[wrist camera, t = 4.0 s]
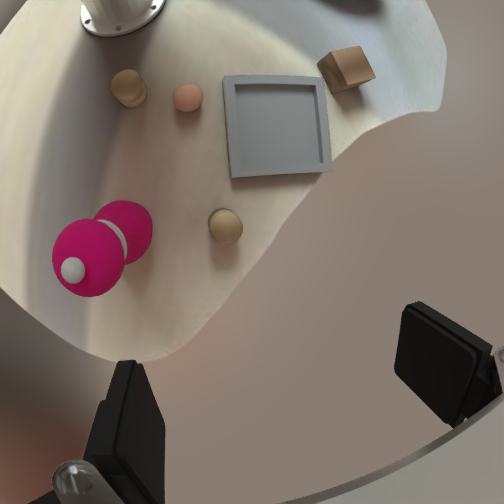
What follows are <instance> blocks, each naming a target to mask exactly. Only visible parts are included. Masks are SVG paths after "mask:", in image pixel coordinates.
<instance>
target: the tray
mask: <svg viewBox="0 0 504 504" xmlns="http://www.w3.org/2000/svg"><path fill="white" fill-rule="evenodd" d="M222 82H223V95H224V108H225V121H226V133H227V145H228V157H229V169H230V178H237V177H248V176H261V175H275V174H291V173H311V172H332V158H331V146H330V134H329V124H328V114H327V105H326V97H325V89H324V81H323V78H320V77H306V76H286V75H234V76H224V78H223V81H222Z"/></svg>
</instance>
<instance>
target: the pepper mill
mask: <svg viewBox="0 0 504 504" xmlns="http://www.w3.org/2000/svg"><path fill="white" fill-rule="evenodd" d="M151 238H152V220H151V218H150V215H149V213H148V212H147V211H146V210H145V209H144V208H143V207H142V206H140V205H139V204H136V203H132V202H129V201H123V200H121V201H114V202H111V203H109V204H107V205H106V206H104V207H103V208H102V209H101V210H100V211H99V212H98V213H97V214H96V216H95V217H94V219H82V220H78V221H75V222H73V223H71V224H70V225H68V226H67V227H66V228H65V229H64V230H63V231H62V232H61V233H60V235H59V236H58V238H57V240H56V242H55V245H54V248H53V255H52V262H53V267H54V271H55V273H56V275H57V278H58V279H59V281H60V282H61V284H62V285H63V286H64V287H66V288H67V289H68V290H69V291H71V292H73V293H75V294H77V295H80V296H83V297H94V296H99V295H101V294H104V293H105V292H107V291H108V290H110V289H111V288H112V287H113V286H114V285H115V284H116V283H117V281H118V280H119V278H120V276H121V274H122V271H123V269H124V265H125V264H130V263H132V262H134V261H136V260H137V259H139V258H140V257H141V256H142V255H143V254H144V253H145V252H146V250H147V249H148V247H149V245H150V242H151Z"/></svg>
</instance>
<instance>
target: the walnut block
mask: <svg viewBox="0 0 504 504" xmlns="http://www.w3.org/2000/svg"><path fill="white" fill-rule="evenodd" d="M317 66H318V68H319V70H320V71H321V73H322V75H323V77H324V79H325V81H326V83H327V85H328V88H329V90H330V92H331V94H333V93H336V92H339V91H343V90H346V89H350V88H353V87H357V86H359V85H361V84H364V83H366V82H368V81H370V80H372V79H374V78H376V76H375V74H374V72H373V70H372V68H371V66H370V64H369V62H368V60H367V58H366V56H365V54H364V52H363V50H362V48H361V47H360V46H356V47H351V48H346V49H341V50H336V51H331V52H330V53H329V54H327V55H326V56H325V57H324V58H323V59H321V60H320V61H319V62H318V63H317Z"/></svg>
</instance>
